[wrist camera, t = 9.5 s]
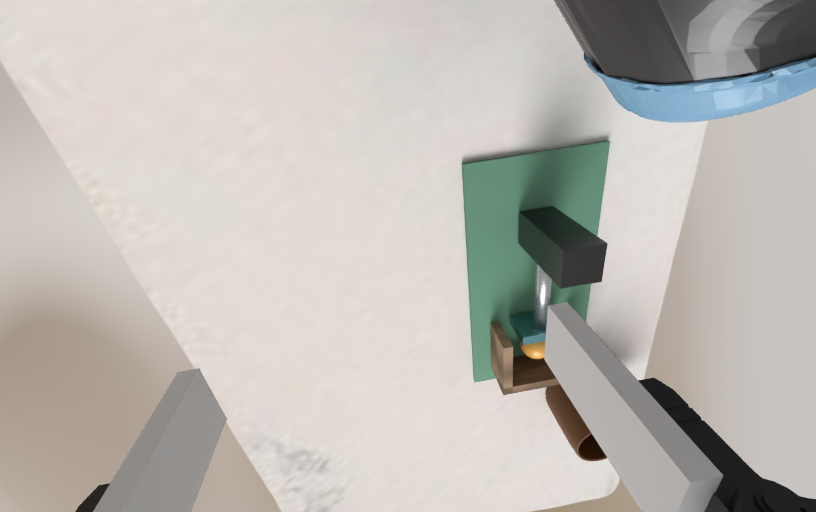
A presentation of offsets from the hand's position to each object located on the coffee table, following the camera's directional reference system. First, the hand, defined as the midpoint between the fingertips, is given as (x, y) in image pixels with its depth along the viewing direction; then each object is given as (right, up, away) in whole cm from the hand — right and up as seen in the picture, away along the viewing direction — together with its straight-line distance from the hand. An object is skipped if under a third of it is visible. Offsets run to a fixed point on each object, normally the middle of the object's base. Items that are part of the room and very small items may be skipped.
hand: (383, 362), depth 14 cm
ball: (+18, -8, +34) cm, 39 cm away
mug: (+28, -17, +43) cm, 54 cm away
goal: (+18, -7, +36) cm, 41 cm away
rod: (+16, +3, +30) cm, 35 cm away
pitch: (+16, +1, +32) cm, 36 cm away
